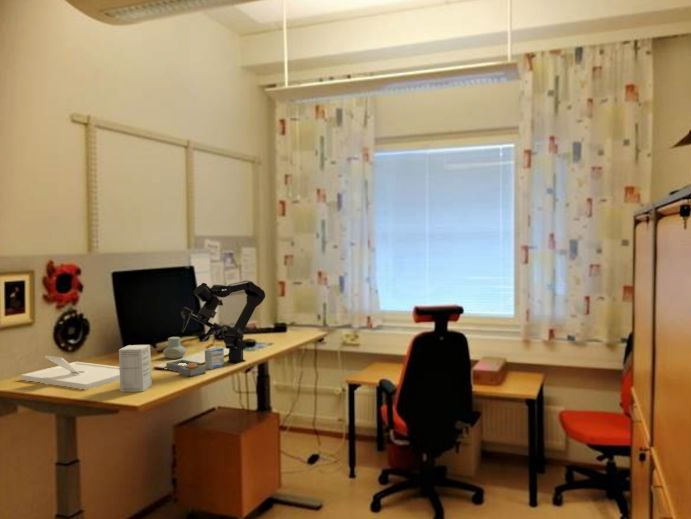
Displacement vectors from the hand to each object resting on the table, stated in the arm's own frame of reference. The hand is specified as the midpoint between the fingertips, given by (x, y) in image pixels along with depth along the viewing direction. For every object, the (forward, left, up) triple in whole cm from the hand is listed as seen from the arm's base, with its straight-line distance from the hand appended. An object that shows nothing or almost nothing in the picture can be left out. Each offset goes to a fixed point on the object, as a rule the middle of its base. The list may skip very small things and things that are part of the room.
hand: (191, 336), depth 252 cm
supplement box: (+29, +2, -16) cm, 34 cm away
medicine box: (-13, -1, -16) cm, 21 cm away
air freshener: (-16, -35, -16) cm, 41 cm away
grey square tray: (-4, -12, -16) cm, 20 cm away
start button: (+1, +1, -14) cm, 14 cm away
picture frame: (+32, -34, -17) cm, 50 cm away
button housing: (+1, +1, -16) cm, 16 cm away
